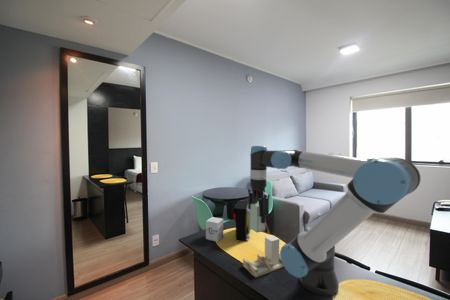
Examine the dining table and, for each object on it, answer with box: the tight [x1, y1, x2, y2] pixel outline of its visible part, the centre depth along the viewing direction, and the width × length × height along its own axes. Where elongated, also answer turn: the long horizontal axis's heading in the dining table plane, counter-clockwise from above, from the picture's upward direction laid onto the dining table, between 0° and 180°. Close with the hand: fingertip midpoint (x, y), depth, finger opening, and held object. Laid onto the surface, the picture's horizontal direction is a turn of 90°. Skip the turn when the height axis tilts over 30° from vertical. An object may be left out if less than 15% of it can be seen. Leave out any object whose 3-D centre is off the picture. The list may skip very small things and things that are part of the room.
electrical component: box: [232, 200, 252, 242], centre depth 136 cm, size 18×10×20 cm, turn 168°
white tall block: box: [264, 234, 280, 265], centre depth 103 cm, size 5×5×12 cm
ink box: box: [205, 216, 224, 243], centre depth 131 cm, size 9×8×12 cm
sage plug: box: [250, 202, 267, 233], centre depth 98 cm, size 5×5×12 cm
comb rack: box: [242, 253, 285, 278], centre depth 101 cm, size 10×19×4 cm, turn 119°
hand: (257, 226), depth 99 cm, fingers closed on sage plug, 5 cm apart
